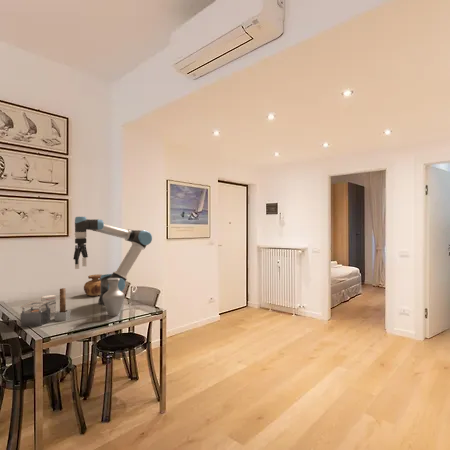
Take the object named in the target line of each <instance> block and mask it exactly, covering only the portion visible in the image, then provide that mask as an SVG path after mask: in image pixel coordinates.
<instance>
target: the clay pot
mask: <svg viewBox="0 0 450 450" xmlns="http://www.w3.org/2000/svg"><path fill="white" fill-rule="evenodd" d="M101 275H102V274H100V273H99V274H90V275H87V276H88V279H89V280H88V281H87V282H85V283H84V285H83V291H84V293H85V294H86V295H88V296H90V297H97V296H98V295H99V296H100V294H101V280H100V279H101Z"/></svg>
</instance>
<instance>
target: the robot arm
mask: <svg viewBox="0 0 450 450" xmlns="http://www.w3.org/2000/svg"><path fill="white" fill-rule="evenodd" d="M87 231H93V232H97V233H101V234H105V235H109V236H113V237H115V238H120V239H124V240H125V241H127V242H129V243H131V247H130V248H129V250H128V251H127V253H126V255H125V256H124V257H123V259H122V261H121V263H120V264H119V266H118V267H117V269H116V271H113V272H112V273H108V274H107V273H106V274H100V275H101V279H100V278H99V279H100V280H101V294H100V295H99V298H98V303H97V304H98V305H101V306H102V305H103V306H105V305H104V302H103V298H102V297H103V295H104V294H105V293H106V292H107V291H108V290H109V282H108V280H107V279H109V278H120V280H119V282H118V288H119V290H120V291H121V292H123V290H125V288H126V282H127V280H128V278H127V276H128V274H129V273H130V271H131V269H132V268H133V266H134V265H135V264H134V263H135V262H136V261H137V259H138V257H139V256H140V253H141V252H142V251H143V250H145V249H146V247H147V246H149V245H150V244H151V243H152V241H153V235H152V233H151V232H150V231H148V230H146V229H145V230H144V229H141V230H138V229H137V230H134V229H129V228H127V229H125V228H121V227H117V226H114V225H112V224H111V225H110V224H108V223H104V220H103V219H99V218H98V219H88V218H87V217H86V216H75V217H74V234H73V235H74V244H76V245H75V247H74V254H73V260H74V269H75V270H79V269H80V255H81V256H82V257H81V258H82V259H81V261H82V263H81V264H82V266H81V267H87V258H88V257H89V256H88V255H89V254H88V251H87V250H88V249H87Z"/></svg>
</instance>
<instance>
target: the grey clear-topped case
mask: <svg viewBox="0 0 450 450" xmlns="http://www.w3.org/2000/svg"><path fill="white" fill-rule="evenodd" d="M49 303H50V301H41V300H39V301H38V300H37V301H30V302H27V303H24V304H22V305H20V309H21V313H20V327H22V328H23V327H42V326H43V325H45V324H47V323H49V322H50V321H51V313H50V308H49ZM45 305H47V308H41V307H43V306H45ZM26 308H27V310H26V311H25V309H26ZM28 308H29V309H28ZM33 310H39V311H38V312H31V311H33Z"/></svg>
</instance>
